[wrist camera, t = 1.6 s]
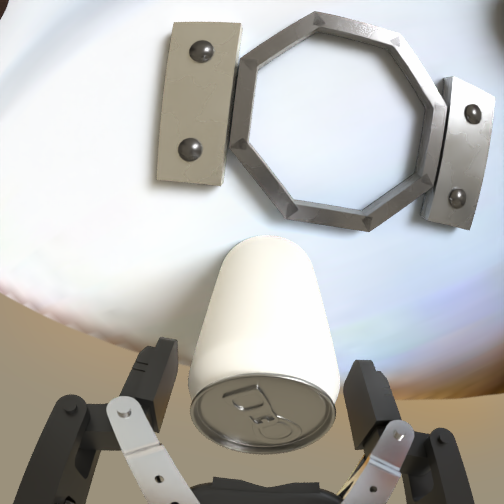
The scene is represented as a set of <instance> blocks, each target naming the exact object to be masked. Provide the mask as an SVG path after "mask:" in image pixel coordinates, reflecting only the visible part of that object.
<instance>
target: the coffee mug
mask: <svg viewBox="0 0 504 504" xmlns="http://www.w3.org/2000/svg"><path fill="white" fill-rule="evenodd" d="M8 1H9V0H0V19H1V17H2V16H3V14H4V11H5V9H6V7H7V4H8Z"/></svg>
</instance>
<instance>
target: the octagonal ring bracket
mask: <svg viewBox="0 0 504 504" xmlns="http://www.w3.org/2000/svg"><path fill="white" fill-rule="evenodd" d="M242 30H243V28H242V25H241V23H227V22H174V24H173V29H172V35H171V41H170V47H169V54H168V61H167V68H166V75H165V83H164V92H163V100H162V110H161V121H160V132H159V145H158V161H157V180H165V181H176V182H187V183H197V184H206V185H215V186H221V185H222V184H223V182H224V173H225V164H226V155H227V146H228V137H229V128H230V120H231V111H232V103H233V95H234V88H235V80H236V73H237V65H238V58H239V51H240V44H241V37H242ZM316 32H320V33H325V34H330V35H335V36H339V37H343V38H347V39H352V40H355V41H359V42H363V43H367V44H370V45H374V46H377V47H380V48H383V49H387V50H388V52H389V53H390V54H391V56H392V57H393V59H394V60H395V61H396V63H397V64H398V66H399V67H400V69H401V70H402V72H403V73H404V75H405V76H406V78H407V79H408V81H409V82H410V84H411V85H412V87H413V89H414V90H415V92H416V93H417V95H418V97H419V98H420V100H421V102H422V103H423V105H424V107H425V115H424V122H423V129H422V135H421V141H420V147H419V152H418V158H417V163H416V168H415V173H414V174H413V175H411V176H410V177H409V178H407V179H406V180H404V181H403V182H402V183H400V184H399V185H397V186H396V187H395V188H393V189H392V190H390V191H389V192H387V193H386V194H385V195H383V196H382V197H380V198H379V199H377V200H376V201H375V202H373V203H372V204H370V205H369V206H367V207H366V208H365V209H363V210H362V211H361V210H355V209H350V208H344V207H338V206H332V205H326V204H320V203H314V202H307V201H301V200H294V199H293V198H292V197H291V195H290V194H289V193H288V191H287V190H286V189H285V187H284V186H283V185H282V183H281V182H280V181H279V179H278V178H277V177H276V176H275V174H274V173H273V172H272V170H271V169H270V168H269V167H268V165H267V164H266V163H265V162H264V160H263V159H262V158H261V156H260V155H259V154H258V153H257V151H256V150H255V149H254V148H253V146H252V145H251V144H250V143H249V135H250V127H251V119H252V111H253V104H254V96H255V88H256V81H257V73H258V70H259V69H260V68H262V67H263V66H265V65H266V64H268V63H269V62H271V61H272V60H273V59H275V58H276V57H278V56H279V55H281V54H283V53H284V52H286V51H287V50H289V49H290V48H292V47H293V46H295V45H297V44H298V43H300V42H301V41H303V40H305V39H306V38H308V37H310V36H311V35H313V34H315V33H316ZM494 106H495V97H493V96H491V95H489V94H488V93H486V92H484V91H482V90H480V89H478V88H476V87H474V86H472V85H470V84H468V83H466V82H464V81H462V80H460V79H458V78H456V77H454V76H452V77H446V78H444V87H443V97H441V95H440V93H439V92H438V90H437V88H436V86H435V85H434V83H433V81H432V80H431V78H430V76H429V75H428V73H427V72H426V70H425V69H424V67H423V65H422V64H421V62H420V61H419V59H418V58H417V56H416V55H415V53H414V52H413V50H412V49H411V48H410V46H409V45H408V43H407V42H406V41H405V39H404V38H403V36H402V35H401V34H398V33H396V32H393V31H390V30H387V29H383V28H380V27H377V26H374V25H370V24H367V23H363V22H360V21H356V20H352V19H348V18H344V17H340V16H336V15H331V14H326V13H321V12H316V11H314V12H312V13H311V14H309V15H307V16H305V17H304V18H302V19H300V20H298V21H297V22H295V23H293V24H292V25H290V26H288V27H287V28H285V29H284V30H282V31H280V32H279V33H277V34H276V35H274V36H272V37H271V38H269V39H268V40H266V41H265V42H263V43H262V44H260V45H259V46H257V47H256V48H254V49H253V50H252V51H250V52H249V53H247V54H246V55H244V56H243V57H242V58H240V64H239V71H238V79H237V86H236V94H235V102H234V110H233V118H232V127H231V135H230V144H229V149H230V150H231V151H232V152H233V153H234V155H235V156H236V157H237V158H238V160H239V161H240V162H241V163H242V164H243V166H244V167H245V168H246V169H247V171H248V172H249V173H250V174H251V176H252V177H253V178H254V179H255V181H256V182H257V183H258V184H259V186H260V187H261V188H262V190H263V191H264V192H265V193H266V195H267V196H268V197H269V198H270V200H271V201H272V202H273V204H274V205H275V206H276V207H277V209H278V210H279V211H280V213H281V214H282V215H283V216H284V218H285V219H288V220H295V221H301V222H308V223H315V224H322V225H328V226H334V227H341V228H347V229H353V230H359V231H365V232H370V231H371V230H373V229H374V228H376V227H377V226H379V225H380V224H382V223H383V222H384V221H386V220H387V219H389V218H390V217H391V216H393V215H394V214H396V213H397V212H399V211H400V210H401V209H403V208H404V207H406V206H407V205H408V204H410V203H411V202H412V201H414V200H415V199H417V198H418V197H419V196H421V195H422V194H423V193H425V192H426V194H425V198H424V202H423V206H422V210H421V214H420V215H421V216H422V217H424V218H425V219H426V220H428V221H432V222H437V223H441V224H445V225H450V226H454V227H458V228H462V229H466V230H470V227H471V224H472V221H473V217H474V214H475V210H476V206H477V202H478V199H479V195H480V190H481V186H482V182H483V177H484V172H485V168H486V162H487V157H488V151H489V145H490V139H491V132H492V124H493V116H494Z"/></svg>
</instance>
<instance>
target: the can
mask: <svg viewBox="0 0 504 504" xmlns="http://www.w3.org/2000/svg"><path fill="white" fill-rule="evenodd" d="M188 387H189V392H190V396H191V399H192V404H191V408H190V415H191V419H192V421H193V423H194V425H195V427H196V428H197V429H198V430H199V432H201V434H203V435H204V436H205V437H206V438H208V439H209V440H211V441H212V442H214V443H216V444H218V445H220V446H222V447H225V448H228V449H231V450H234V451H238V452H243V453H249V454H280V453H286V452H291V451H295V450H298V449H301V448H304V447H306V446H308V445H310V444H313V443H314V442H316V441H317V440H319V439H320V438H322V437H323V436H324V435H325V434H326V433H327V432H328V431H329V430H330V428H331V427H332V425H333V423H334V421H335V416H336V409H335V402H336V400H337V397H338V394H339V389H340V376H339V370H338V365H337V360H336V355H335V351H334V346H333V342H332V338H331V334H330V329H329V325H328V321H327V317H326V313H325V309H324V306H323V302H322V298H321V294H320V290H319V287H318V283H317V279H316V276H315V272H314V269H313V266H312V263H311V261H310V259H309V257H308V256H307V254H306V253H305V252H304V251H303V250H302V249H301V248H300V247H299V246H298V245H297V244H295V243H294V242H292V241H290V240H288V239H285V238H282V237H279V236H272V235H262V236H255V237H252V238H249V239H246V240H244V241H242V242H240V243H239V244H237V245H236V246H235V247H234V248H233V249H232V250H231V251H230V252H229V253H228V254H227V256H226V258H225V259H224V261H223V264H222V266H221V269H220V272H219V275H218V278H217V281H216V284H215V287H214V290H213V293H212V297H211V300H210V303H209V306H208V309H207V312H206V316H205V319H204V322H203V326H202V329H201V332H200V335H199V339H198V342H197V346H196V349H195V353H194V356H193V360H192V363H191V367H190V371H189V378H188Z"/></svg>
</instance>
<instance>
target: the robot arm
mask: <svg viewBox="0 0 504 504" xmlns="http://www.w3.org/2000/svg"><path fill="white" fill-rule="evenodd" d="M177 371H178V344H177V340H175V339H169V338H164V337H160V338H159V340H158V343H157V345H156V347H151V346H147V347H146V348H144V349H143V350H142V351H141V352H140V353H139V355H138V357H137V359H136V362H135V363H134V365H133V367H132V370H131V372H130V374H129V376H128V378H127V380H126V383H125V385H124V387H123V389H122V391H121V393H120V395H119V397H116V398H114V399H112V400H111V401H110V402H109V403H107V404H86V403H85V401H84V400H83V399H82V398H81V397H79V396H77V395H66V396H63V397H61V398H60V399H59V400H58V401H57V402H56V404H55V406H54V408H53V411H52V412H51V415H50V417H49V419H48V421H47V423H46V425H45V427H44V429H43V431H42V434H41V436H40V438H39V440H38V443H37V445H36V447H35V449H34V452H33V454H32V456H31V459H30V461H29V463H28V466H27V468H26V471H25V473H24V476H23V478H22V481H21V484H20V486H19V489H18V492H17V495H16V497H15V500H14V503H13V504H85V503H86V499H87V495H88V492H89V488H90V485H91V481H92V478H93V475H94V471H95V468H96V465H97V461H98V458H99V455H100V452H101V450H122V452H123V454H124V456H125V458H126V461H127V463H128V465H129V467H130V469H131V471H132V473H133V475H134V477H135V479H136V481H137V483H138V485H139V487H140V489H141V491H142V493H143V495H144V497H145V498H146V500H147V502H148V504H386V503H387V501H388V499H389V497H390V496H391V494H392V492H393V490H394V488H395V486H396V484H397V482H398V480H399V478H400V476H401V473H402V478H403V483H404V488H405V495H406V500H407V504H474V500H473V496H472V492H471V489H470V485H469V482H468V478H467V475H466V471H465V468H464V465H463V462H462V459H461V456H460V453H459V450H458V446H457V443H456V441H455V438H454V436H453V434H452V433H451V432H450V431H449V430H447V429H444V428H437V429H435V430H433V431H432V432H431V434H425V433H420V432H415V431H414V430H413V428H412V427H411V425H409V424H408V423H407V422H405V421H402V420H401V417H400V414H399V411H398V408H397V405H396V402H395V399H394V397H393V396H392V391H391V389H390V386H389V383H388V380H387V378H386V377H385V376H384V375H383V374H382V373H381V371H376V370H375V367H374V364H373V362H372V361H371V360H355V361H354V363H353V365H352V367H351V370H350V372H349V374H348V376H347V378H346V380H345V383H344V388H343V393H344V398H345V403H346V407H347V411H348V417H349V421H350V426H351V431H352V436H353V441H354V446H355V450H361V449H364V453H365V454H364V455H363V457H362V458H361V460H360V461H359V463H358V464H357V466H356V467H355V469H354V470H353V472H352V474H351V475H350V476H349V478H348V479H347V481H346V482H345V484H344V485H343V486H342V488H341V489H340V490H339V492H338V493H337V494H334V493H332V492H329V491H327V490H324V489H320V488H319V483H317V482H315V483H290V484H285V485H280V486H275V487H268V488H267V487H262V486H259V485H255V484H252V483H249V482H245V481H242V480H236V479H227V478H219V477H213V482H212V483H204V484H199V485H196V486H193V487H190V488H189V486H188V485H187V483H186V482H185V480H184V479H183V477H182V475H181V474H180V472H179V471H178V469H177V467H176V466H175V464H174V462H173V461H172V459H171V457H170V456H169V454H168V452H167V450H166V449H165V447H164V446H163V445H162V444H160V442H159V441H158V439H157V437H156V435H155V433H154V432H157V433H159V432H160V428H161V425H162V422H163V418H164V415H165V412H166V408H167V405H168V402H169V399H170V395H171V392H172V389H173V386H174V382H175V379H176V376H177Z"/></svg>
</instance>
